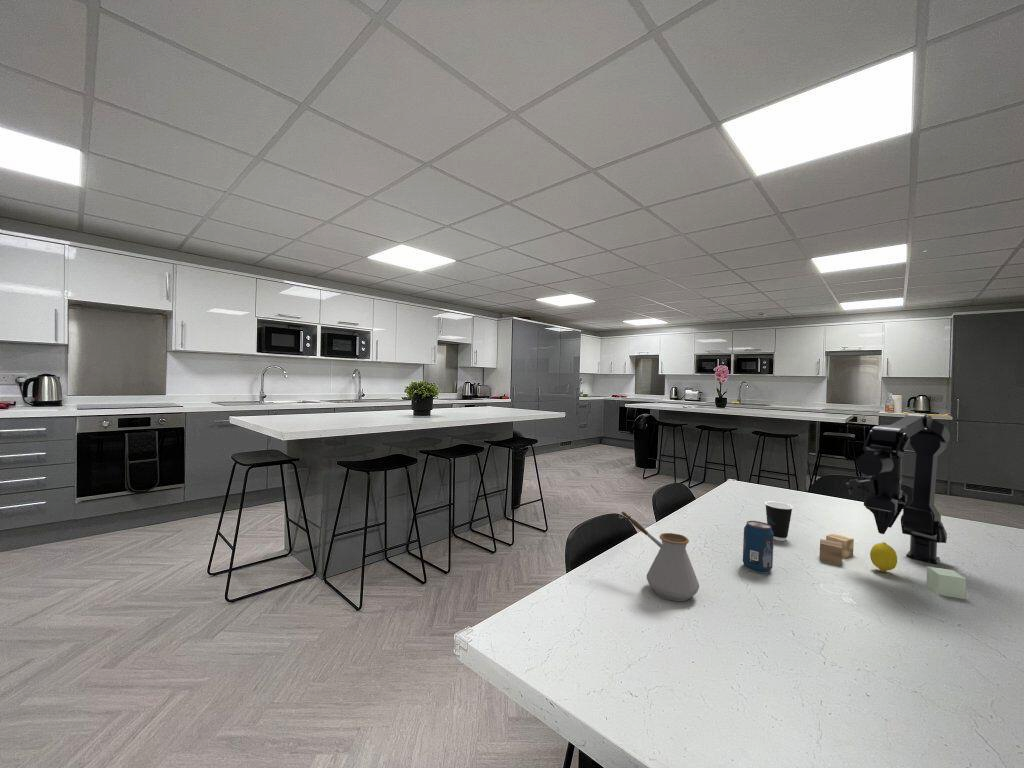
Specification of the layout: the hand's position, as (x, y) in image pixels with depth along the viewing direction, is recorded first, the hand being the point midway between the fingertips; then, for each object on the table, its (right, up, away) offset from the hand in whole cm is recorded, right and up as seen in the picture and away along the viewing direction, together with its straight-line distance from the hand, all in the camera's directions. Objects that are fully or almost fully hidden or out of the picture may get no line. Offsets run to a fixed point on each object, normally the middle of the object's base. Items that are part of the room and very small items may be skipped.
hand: (885, 530), depth 114 cm
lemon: (-1, -12, 0) cm, 12 cm away
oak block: (-3, -11, +12) cm, 17 cm away
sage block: (+5, -12, -11) cm, 17 cm away
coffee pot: (-67, -9, -13) cm, 69 cm away
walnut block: (-10, -11, +7) cm, 16 cm away
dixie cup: (-14, -11, +24) cm, 30 cm away
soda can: (-36, -10, -1) cm, 37 cm away
